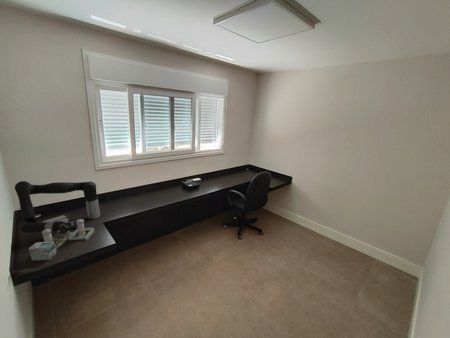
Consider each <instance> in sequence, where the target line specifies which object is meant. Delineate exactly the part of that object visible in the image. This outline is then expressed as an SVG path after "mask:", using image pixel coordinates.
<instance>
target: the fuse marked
mask: <svg viewBox="0 0 450 338" xmlns="http://www.w3.org/2000/svg"><path fill="white" fill-rule="evenodd" d="M75 225H76V228H77V229H78V232H77V237H80V236H86V231H85V229H84V228H85V220H84V219H83V218H80V219H77V221H76V224H75ZM77 229H76V230H77Z"/></svg>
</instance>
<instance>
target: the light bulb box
mask: <svg viewBox="0 0 450 338" xmlns="http://www.w3.org/2000/svg"><path fill="white" fill-rule="evenodd" d="M28 251H29V254H30V259H31V261H34V262H35V261H47V260H52V258H53V257H55V255H56V254H57V250H56V248H55V244H54V241H50V242H44V241H41V242H40V241H39V242H34V244H33V245H31V246H30V247H29V248H28Z"/></svg>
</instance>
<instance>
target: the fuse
mask: <svg viewBox="0 0 450 338" xmlns="http://www.w3.org/2000/svg"><path fill="white" fill-rule="evenodd" d="M41 234H42V237H43V242H50V241H53V239H52V237H53V235H52V232H51V229H46V230H43V231H42V232H41Z"/></svg>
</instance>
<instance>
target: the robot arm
mask: <svg viewBox="0 0 450 338" xmlns="http://www.w3.org/2000/svg"><path fill="white" fill-rule="evenodd" d="M14 190H15V192H16V193H15V194H16V196H17V197H18V198H17V199H18V201H19V207H20V208H19V209H20V215H21V220H22V221H24V222H25V223H22V224H21V225H20V227H19V228H20V232H22V233H25V234H26V233H27V234H28V233H29V234H30V233H37V232H39V233H40V232H41V233H42V231H43V230H46V229H51V233H53V232H55V233H57V232H58V233H66V232H67V231H70V232H71V231H76V230H77V229H76V228H77V227H75V226H74V225H77V224H76V221H77V220H78V219H69V220H68V222H63V221H52V222H39V221H38V219H37V218H36V214H35V209H34V205H33V202H32V200H31V195H39V194H41V195H42V194H48V195H49V194H68V193H72V192H77V191H78V192H79V191H83V196H84V197H83V198H84V200H85V205H86V211H87V217H88V219H89V220H95V219H99V218H100V216H101V210H100V205H99V198H98V193H97V184H96V183H95V182H93V181H81V182H63V181H62V182H61V181H60V182H58V181H57V182H50V183H46V184H32V183H30V182H28V181H26V180H22V181H19V182H16V183H15V185H14ZM64 230H65V231H64Z"/></svg>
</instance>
